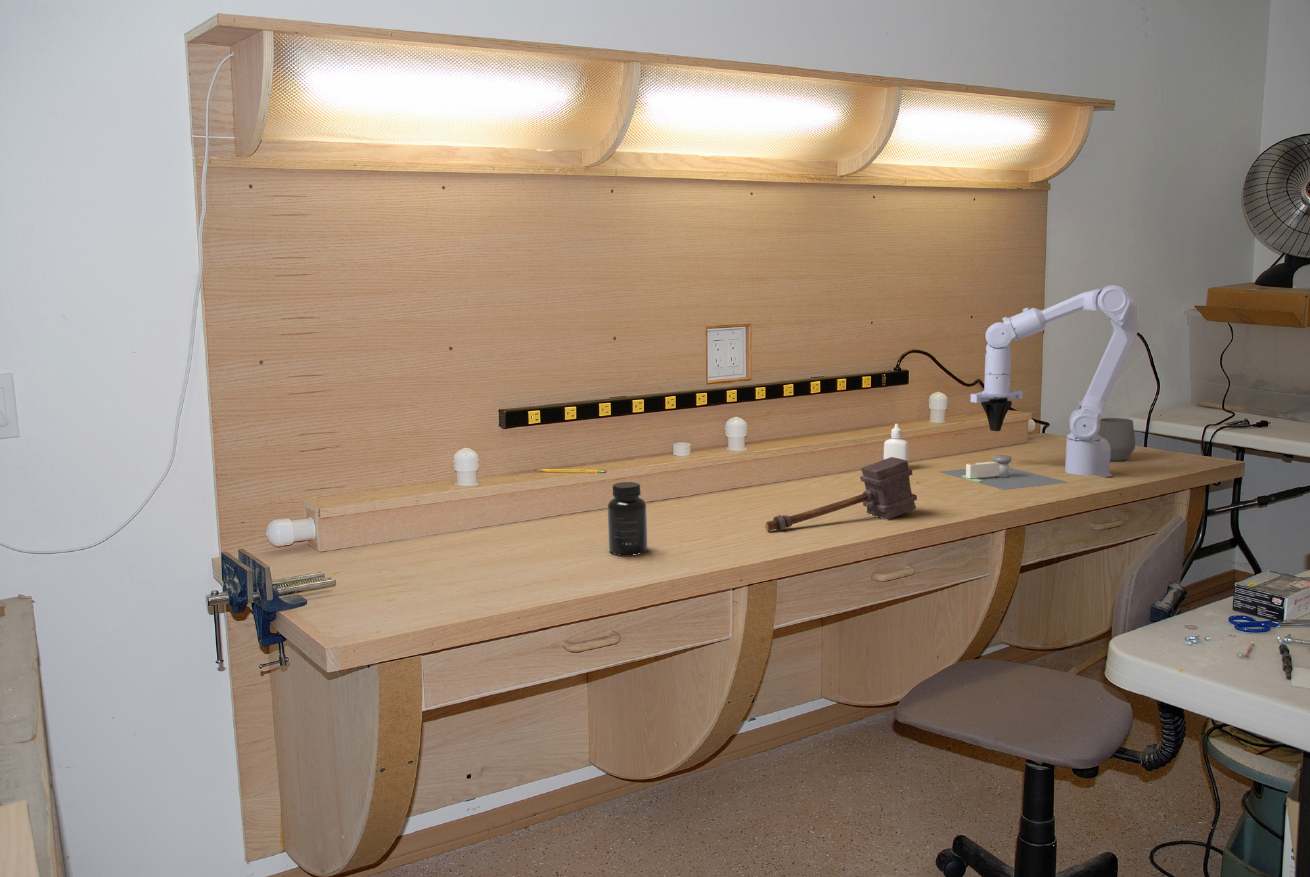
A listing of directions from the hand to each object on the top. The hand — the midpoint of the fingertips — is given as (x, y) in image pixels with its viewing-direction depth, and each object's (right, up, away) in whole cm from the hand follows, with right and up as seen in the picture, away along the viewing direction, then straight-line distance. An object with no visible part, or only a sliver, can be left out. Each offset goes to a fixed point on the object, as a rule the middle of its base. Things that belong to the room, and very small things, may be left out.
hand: (995, 430), depth 236 cm
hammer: (-45, -18, -44) cm, 66 cm away
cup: (+35, -7, +14) cm, 38 cm away
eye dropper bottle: (-24, -10, +1) cm, 26 cm away
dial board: (-2, -12, -9) cm, 15 cm away
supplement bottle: (-86, -22, -62) cm, 108 cm away
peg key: (-5, -11, -11) cm, 16 cm away
